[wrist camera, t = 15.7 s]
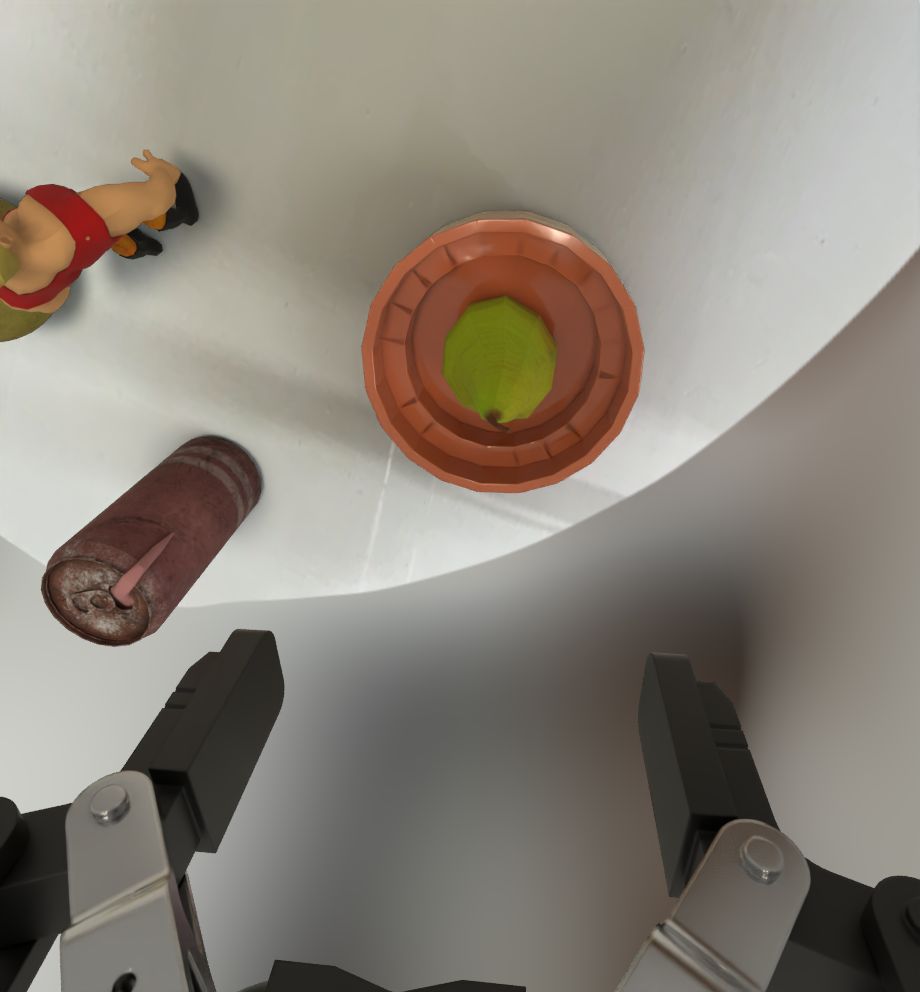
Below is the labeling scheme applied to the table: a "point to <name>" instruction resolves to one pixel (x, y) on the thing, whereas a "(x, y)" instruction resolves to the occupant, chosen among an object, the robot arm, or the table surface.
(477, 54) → the table surface
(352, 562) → the table surface
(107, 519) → the can
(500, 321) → the fruit
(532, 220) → the bowl
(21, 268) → the action figure
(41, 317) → the apple
